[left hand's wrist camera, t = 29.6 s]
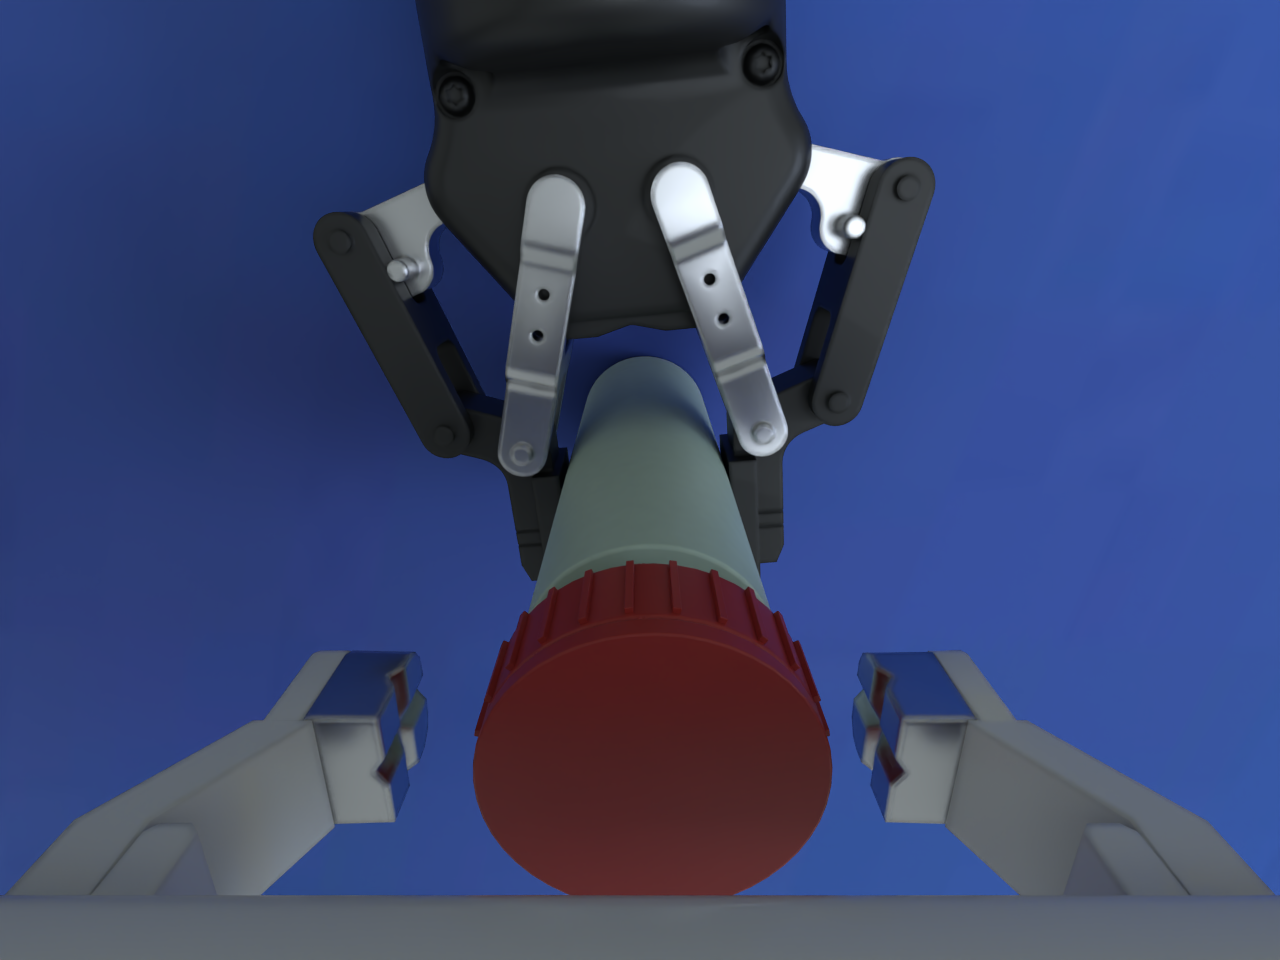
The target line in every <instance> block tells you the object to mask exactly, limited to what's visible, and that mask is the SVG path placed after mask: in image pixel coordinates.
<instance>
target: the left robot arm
mask: <svg viewBox="0 0 1280 960" xmlns="http://www.w3.org/2000/svg"><path fill="white" fill-rule="evenodd" d="M422 676H423V672H422V667H421V661H420V657H419V656H418V655H417V653H416V652H393V651H318V652H316V653H313V654H312V655H311V657H310V658H309V659H308V661H307V662H306V663H305V665H304V666H303V667H302V669H301V670H300V671H299V673H298V674H297V675H296V677H295V678H294V680H293V681H292V682H291V684H290V685H289V686H288V688H287V689H286V690H285V692H284V693H283V694H282V696H281V697H280V699H279V700H278V701H277V703H276V704H275V705H274V707H273V708H272V709H271V711H270V712H269V713H268V715H267V716H266V717H265V719H264V720H253V721H251V722H249V723H248V724H246V725H244V726H242V727H240V728H239V729H237V730H235V731H233V732H231V733H230V734H228V735H226V736H224V737H223V738H221V739H219V740H217V741H215V742H214V743H212V744H210V745H208V746H206V747H205V748H203V749H201V750H199V751H197V752H196V753H194V754H192V755H190V756H188V757H187V758H185V759H183V760H181V761H179V762H178V763H176V764H174V765H172V766H170V767H169V768H167V769H165V770H163V771H161V772H160V773H158V774H156V775H154V776H152V777H151V778H149V779H147V780H145V781H143V782H142V783H140V784H138V785H136V786H135V787H133V788H131V789H129V790H127V791H126V792H124V793H122V794H120V795H118V796H117V797H115V798H113V799H111V800H109V801H108V802H106V803H104V804H102V805H100V806H99V807H97V808H95V809H93V810H91V811H90V812H88V813H86V814H84V815H82V816H81V817H79V818H77V819H75V820H74V821H73V822H72V823H71V824H70V825H69V826H68V827H67V828H66V829H65V830H64V832H63V833H62V834H61V835H60V836H59V837H58V838H57V839H56V840H55V841H54V842H53V843H52V845H51V846H50V847H49V848H48V849H47V850H46V851H45V852H44V853H43V854H42V855H41V856H40V857H39V859H38V860H37V861H36V862H35V863H34V864H33V865H32V866H31V867H30V868H29V869H28V870H27V872H26V873H25V874H24V875H23V876H22V877H21V878H20V879H19V880H18V881H17V882H16V883H15V885H14V886H13V887H12V888H11V889H10V890H9V891H8V892H7V893H6V894H5V895H0V960H1280V895H1275V894H1274V893H1273V892H1272V891H1271V890H1270V889H1269V888H1268V887H1267V885H1266V884H1265V883H1264V882H1263V881H1262V880H1261V879H1260V878H1259V877H1258V876H1257V875H1256V873H1255V872H1254V871H1253V870H1252V869H1251V868H1250V867H1249V866H1248V865H1247V864H1246V863H1245V862H1244V860H1243V859H1242V858H1241V857H1240V856H1239V855H1238V854H1237V853H1236V852H1235V851H1234V850H1233V848H1232V847H1231V846H1230V845H1229V844H1228V843H1227V842H1226V841H1225V840H1224V839H1223V838H1222V836H1221V835H1220V834H1219V833H1218V832H1217V831H1216V830H1215V829H1214V828H1213V827H1212V826H1211V825H1210V823H1209V822H1208V821H1206V820H1204V819H1203V818H1201V817H1199V816H1197V815H1195V814H1194V813H1192V812H1190V811H1188V810H1186V809H1185V808H1183V807H1181V806H1179V805H1177V804H1176V803H1174V802H1172V801H1170V800H1168V799H1167V798H1165V797H1163V796H1161V795H1160V794H1158V793H1156V792H1154V791H1152V790H1151V789H1149V788H1147V787H1145V786H1143V785H1142V784H1140V783H1138V782H1136V781H1134V780H1133V779H1131V778H1129V777H1127V776H1126V775H1124V774H1122V773H1120V772H1118V771H1117V770H1115V769H1113V768H1111V767H1109V766H1108V765H1106V764H1104V763H1102V762H1100V761H1099V760H1097V759H1095V758H1093V757H1091V756H1090V755H1088V754H1086V753H1084V752H1083V751H1081V750H1079V749H1077V748H1075V747H1074V746H1072V745H1070V744H1068V743H1066V742H1065V741H1063V740H1061V739H1059V738H1057V737H1056V736H1054V735H1052V734H1050V733H1049V732H1047V731H1045V730H1043V729H1041V728H1040V727H1038V726H1036V725H1034V724H1032V723H1031V722H1029V721H1027V720H1016V719H1015V717H1014V716H1013V715H1012V713H1011V712H1010V711H1009V709H1008V708H1007V707H1006V705H1005V704H1004V703H1003V701H1002V700H1001V699H1000V697H999V696H998V695H997V693H996V692H995V691H994V689H993V688H992V687H991V685H990V684H989V682H988V681H987V680H986V678H985V677H984V676H983V674H982V673H981V672H980V670H979V669H978V668H977V666H976V665H975V664H974V662H973V661H972V660H971V658H970V657H969V656H968V654H967V653H965V652H963V651H961V650H948V651H928V652H883V653H862V656H861V658H860V660H859V666H858V672H857V676H858V678H859V680H860V683H861V685H862V687H863V690H862V691H861V692H860V693H859V694H858V695H857V696H856V697H855V698H854V701H853V710H852V727H853V737H854V742H855V746H856V750H857V752H858V755H859V758H860V760H861V762H862V763H863V764H865V765H866V766H867V767H868V768H870V769H871V770H872V778H871V784H870V786H871V788H872V790H873V793H874V795H875V798H876V800H877V803H878V805H879V808H880V810H881V813H882V815H883V817H884V820H885V822H903V823H938V824H946V825H945V827H946V828H947V829H948V830H949V831H951V832H952V833H953V834H954V835H955V836H956V837H957V838H958V839H959V840H960V841H961V842H963V843H964V844H965V845H966V846H967V847H968V848H969V849H970V850H971V851H972V852H973V853H975V854H976V855H977V856H978V857H979V858H980V859H981V860H982V861H983V862H984V863H985V864H986V865H988V866H989V867H990V868H991V869H992V870H993V871H994V872H995V873H996V874H997V875H998V876H1000V877H1001V878H1002V879H1003V880H1004V881H1005V882H1006V883H1007V884H1008V885H1009V886H1010V887H1012V888H1013V889H1014V890H1015V891H1016V892H1017V893H1018V894H1019V895H863V896H771V895H318V896H286V895H261V894H262V893H263V892H264V891H265V890H267V889H268V888H269V887H270V886H271V885H272V884H273V883H274V882H275V881H276V880H277V879H279V878H280V877H281V876H282V875H283V874H284V873H285V872H286V871H287V870H288V869H289V868H291V867H292V866H293V865H294V864H295V863H296V862H297V861H298V860H299V859H300V858H301V857H303V856H304V855H305V854H306V853H307V852H308V851H309V850H310V849H311V848H312V847H313V846H315V845H316V844H317V843H318V842H319V841H320V840H321V839H322V838H323V837H324V836H325V835H327V834H328V833H329V832H330V831H331V830H332V829H333V828H334V827H335V825H334V824H342V823H376V822H395V820H396V818H397V815H398V813H399V810H400V808H401V805H402V803H403V800H404V798H405V796H406V793H407V791H408V788H409V786H410V784H409V777H408V770H409V769H410V768H412V767H413V766H414V765H416V764H417V763H418V762H419V760H420V758H421V755H422V752H423V750H424V747H425V741H426V736H427V730H428V708H427V700H426V698H425V697H424V696H423V695H422V694H421V693H420V692H419V691H418V690H417V687H418V685H419V683H420V681H421V678H422Z"/></svg>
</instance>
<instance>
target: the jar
mask: <svg viewBox="0 0 1280 960" xmlns="http://www.w3.org/2000/svg"><path fill="white" fill-rule="evenodd" d="M631 560H633V561H634V564H642V563H645V564H648V563H657V564H669V560H673V561H677V565H679V566H684V567H690V568H695V569H698V570H702V571H705V572H708V573H709V572H710V570H711V569H713V570H716V571H718V574H719V577H721V578H723V579H725V580H728V581H730V582H732V583H734V584H736V585H738V586H739V587H741V588H742V589H744V590H745V589H746V588H747V587H748V586H749V587H750V588H752V589H753V590H754V592H755V595H756V598H757V599H758V600H759V601H761V602H762V603H763V604H764V605H765V606H767V607H768V608H769V609H770V607H769V604H768V601H767V598H766V595H765V592H764V588H763V585H762V582H761V579H760V576H759V573H758V570H757V567H756V563H755V560H754V557H753V554H752V551H751V548H750V545H749V542H748V539H747V535H746V532H745V529H744V526H743V523H742V520H741V517H740V514H739V510H738V507H737V504H736V501H735V498H734V495H733V492H732V489H731V486H730V482H729V479H728V476H727V473H726V470H725V467H724V464H723V461H722V457H721V454H720V451H719V448H718V445H717V442H716V439H715V436H714V433H713V429H712V426H711V423H710V420H709V417H708V414H707V411H706V408H705V405H704V401H703V398H702V396H701V393H700V390H699V389H698V387H697V385H696V383H695V382H694V381H693V379H692V378H691V377H690V376H689V375H688V374H687V373H686V372H685V371H684V370H683V369H682V368H680V367H679V366H677V365H675V364H674V363H672V362H669V361H667V360H664V359H661V358H657V357H650V356H641V357H633V358H629V359H625V360H623V361H620V362H618V363H616V364H614V365H613V366H611V367H610V368H608V369H607V370H606V371H604V372H603V373H602V374H601V375H600V376H599V378H598V379H597V380H596V381H595V383H594V384H593V386H592V388H591V390H590V392H589V395H588V397H587V401H586V404H585V408H584V412H583V415H582V419H581V423H580V426H579V430H578V434H577V437H576V441H575V445H574V448H573V452H572V455H571V459H570V463H569V466H568V470H567V474H566V477H565V481H564V485H563V488H562V492H561V496H560V499H559V503H558V506H557V510H556V514H555V517H554V521H553V525H552V528H551V532H550V536H549V539H548V543H547V547H546V550H545V554H544V557H543V561H542V565H541V568H540V572H539V576H538V579H537V583H536V587H535V590H534V594H533V598H532V601H531V605H530V608H529V612H528V614H529V613H530V612H531V611H532V610H533V609H534V608H535V607H536V606H537V605H538V604H539V603H541V602H542V601H543V600H544V599H546V598H547V595H548V591H549V590H550V589H551V588H553V587H555V588H556V589H557V590H559V589H560V588H562V587H564V586H566V585H567V584H569V583H571V582H572V581H575V580H577V579H579V578H582V577H584V574H585V571H587V570H590V569H592V571H593V573H595V572H598V571H602V570H605V569H609V568H612V567H618V566H625V565H626V561H631Z"/></svg>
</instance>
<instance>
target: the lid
mask: <svg viewBox="0 0 1280 960" xmlns="http://www.w3.org/2000/svg"><path fill="white" fill-rule="evenodd" d="M819 701H821V699H820V696H819V694H818V691H817V688H816V685H815V683H814V680H813V677H812V674H811V672H810V669H809V666H808V663H807V661H806V658H805V655H804V653H803V650H802V647H801V644H800V642H799V641H795V642H793V641H792V639H791V637H790V635H789V634H788V631H787V628H786V625H785V622H784V619H783V617H782V615H781V613H780V612H779V611H777V612H775V613H774V614H773V613H772V612H771V610H770V609H769V608H768V607H767V606H765V605H764V604H763V603H762V602H761V601H759V600H758V599H757V598H756V595H755V592H754V590H753V589H752V588H750V587H749V586H748V587H747V588H746V589H745V590H744V589H742V588H741V587H739V586H738V585H736V584H734V583H732V582H730V581H728V580H725V579H723V578H721V577H719V574H718V571H716V570H713V569H711V570H710V572H709V573H708V572H705V571H702V570H698V569H695V568H690V567H684V566H679V565H677V561H673V560H669V564H657V563H648V564H645V563H642V564H634V561H633V560H631V561H626V565H625V566H618V567H612V568H609V569H605V570H602V571H598V572H595V573H593V571H592V569H590V570H587V571H585V574H584V577H582V578H579V579H577V580H575V581H572V582H571V583H569V584H567V585H566V586H564V587H562V588H560V589H559V590H557V589H556V588H555V587H553V588H551V589H550V590H549V591H548V595H547V598H546V599H544V600H543V601H542V602H541V603H539V604H538V605H537V606H536V607H535V608H534V609H533V610H532V611H531V612H530V613H529V614H528V613H527V612H525V611H524V612H523V613H522V614H521V615H520V618H519V622H518V625H517V629H516V631H515V632H514V634H513V636H512V638H511V639H510V641H509V642H507V641H503V643H502V645H501V648H500V651H499V654H498V657H497V660H496V664H495V667H494V670H493V673H492V676H491V679H490V683H489V686H488V689H487V692H486V695H485V698H484V703H483V706H482V710H481V713H480V716H479V719H478V722H477V725H476V729H475V734H474V735H475V736H478V740H477V743H476V748H475V754H474V760H473V783H474V788H475V794H476V799H477V802H478V805H479V808H480V811H481V814H482V817H483V819H484V821H485V822H486V824H487V826H488V828H489V830H490V832H491V834H492V835H493V836H494V838H495V839H496V840H497V842H498V843H499V844H500V846H501V847H502V848H503V850H504V851H505V852H506V853H507V854H508V855H509V856H510V857H511V858H512V859H513V860H514V861H515V862H516V863H518V864H519V865H520V866H521V867H523V868H524V869H525V870H526V871H528V872H529V873H530V874H531V875H533V876H535V877H536V878H538V879H539V880H541V881H543V882H544V883H546V884H548V885H549V886H552V887H554V888H556V889H558V890H560V891H562V892H564V893H566V894H569V895H734V894H737V893H739V892H741V891H743V890H746V889H748V888H750V887H752V886H754V885H755V884H757V883H759V882H761V881H762V880H764V879H766V878H768V877H769V876H770V875H772V874H773V873H774V872H776V871H777V870H779V869H780V868H781V867H783V866H784V865H785V864H786V863H787V862H788V861H789V860H790V859H791V858H792V857H793V856H795V855H796V854H797V853H798V852H799V850H800V849H801V848H802V847H803V846H804V844H805V843H806V842H807V841H808V839H809V838H810V837H811V835H812V833H813V832H814V830H815V828H816V827H817V825H818V823H819V822H820V819H821V817H822V815H823V812H824V810H825V807H826V805H827V801H828V797H829V793H830V788H831V780H832V759H831V750H830V746H829V742H828V739H827V736H830V733H829V728H828V725H827V723H826V720H825V717H824V714H823V711H822V709H821V706H820V703H819Z"/></svg>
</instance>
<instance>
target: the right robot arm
mask: <svg viewBox="0 0 1280 960" xmlns="http://www.w3.org/2000/svg"><path fill="white" fill-rule="evenodd" d="M415 2H416V8H417V13H418V19H419V24H420V30H421V36H422V41H423V47H424V52H425V58H426V64H427V69H428V75H429V80H430V86H431V91H432V95H433V101H434V110H435V126H434V135H433V140H432V144H431V148H430V151H429V154H428V157H427V160H426V164H425V170H424V184H421V185H419V186H417V187H415V188H413V189H411V190H408V191H406V192H404V193H402V194H400V195H398V196H396V197H393V198H391V199H389V200H387V201H385V202H383V203H381V204H378V205H376V206H374V207H372V208H370V209H368V210H366V211H361V212H332V213H328V214H326V215H324V216H323V217H322V218H321V219H320V220H319V221H318V222H317V224H316V226H315V228H314V233H313V240H314V245H315V248H316V251H317V253H318V255H319V256H320V258H321V260H322V262H323V264H324V265H325V267H326V269H327V271H328V273H329V274H330V276H331V278H332V280H333V282H334V284H335V285H336V287H337V289H338V291H339V293H340V294H341V296H342V298H343V300H344V302H345V303H346V305H347V307H348V309H349V311H350V313H351V314H352V316H353V318H354V320H355V322H356V323H357V325H358V327H359V329H360V331H361V332H362V334H363V336H364V338H365V340H366V342H367V343H368V345H369V347H370V349H371V351H372V352H373V354H374V356H375V358H376V360H377V361H378V363H379V365H380V367H381V369H382V371H383V372H384V374H385V376H386V378H387V380H388V381H389V383H390V385H391V387H392V389H393V391H394V392H395V394H396V396H397V398H398V400H399V401H400V403H401V405H402V407H403V409H404V410H405V412H406V414H407V416H408V418H409V420H410V421H411V423H412V425H413V427H414V429H415V430H416V432H417V434H418V436H419V438H420V439H421V441H422V443H423V445H424V446H425V448H426V449H427V450H428V451H429V452H431V453H432V454H434V455H436V456H438V457H442V458H453V457H456V456H458V455H460V454H463V455H467V456H471V457H475V458H479V459H483V460H486V461H489V462H491V463H492V464H494V465H495V466H497V467H498V468H499V469H500V470H501V471H502V473H503V474H504V476H505V478H506V480H507V483H508V488H509V494H510V500H511V505H512V511H513V517H514V523H515V529H516V532H517V533H516V534H517V540H518V544H519V552H520V557H521V563H522V566H523V568H524V569H525V571H526V572H527V574H528V575H529V577H530V579H531V580H532V581H536V580H537V579H538V576H539V572H540V568H541V565H542V561H543V557H544V554H545V550H546V547H547V543H548V539H549V536H550V532H551V528H552V525H553V521H554V517H555V514H556V510H557V506H558V503H559V499H560V496H561V492H562V488H563V485H564V481H565V477H566V474H567V470H568V466H569V458H568V450H567V447H565V448H558V441H557V434H556V433H557V429H558V424H559V418H560V412H561V406H562V400H563V394H564V388H565V382H566V376H567V371H568V366H569V362H570V358H571V353H572V347H573V341H574V339H579V338H590V337H598V336H601V335H604V334H607V333H609V332H612V331H615V330H617V329H620V328H623V327H625V326H628V325H637V326H643V327H649V328H654V329H660V330H677V329H688V328H696V330H697V333H698V336H699V338H700V341H701V344H702V346H703V349H704V352H705V354H706V357H707V359H708V362H709V365H710V367H711V370H712V373H713V376H714V378H715V381H716V384H717V386H718V389H719V392H720V394H721V397H722V400H723V403H724V405H725V408H726V411H727V434H723V435H720V454H721V457H722V461H723V464H724V467H725V470H726V473H727V476H728V479H729V482H730V486H731V489H732V492H733V495H734V498H735V501H736V504H737V507H738V510H739V514H740V517H741V520H742V523H743V526H744V529H745V532H746V535H747V539H748V542H749V545H750V548H751V551H752V554H753V557H754V560H755V563H756V567H757V570H758V573H759V576H760V563H768V562H777V560H778V557H779V555H780V552H781V550H782V548H783V545H784V530H783V472H782V460H783V454H784V451H785V449H786V447H787V445H788V444H789V443H790V442H791V440H793V439H794V438H795V437H796V436H798V435H799V434H801V433H803V432H805V431H808V430H810V429H812V428H814V427H817V426H819V425H821V424H827V425H831V426H839V425H843V424H846V423H848V422H850V421H851V420H853V419H854V418H855V417H856V416H857V415H858V413H859V412H860V410H861V407H862V405H863V402H864V399H865V396H866V393H867V390H868V387H869V384H870V381H871V378H872V375H873V372H874V369H875V366H876V363H877V360H878V357H879V354H880V351H881V348H882V345H883V342H884V339H885V336H886V333H887V330H888V328H889V325H890V322H891V319H892V316H893V313H894V310H895V307H896V304H897V301H898V298H899V295H900V292H901V289H902V286H903V283H904V280H905V277H906V274H907V271H908V268H909V265H910V262H911V259H912V256H913V253H914V250H915V247H916V245H917V242H918V239H919V236H920V233H921V230H922V227H923V224H924V221H925V218H926V215H927V212H928V209H929V206H930V203H931V200H932V197H933V194H934V190H935V177H934V173H933V171H932V169H931V167H930V166H929V165H928V164H927V163H926V162H925V161H923V160H922V159H919V158H916V157H905V158H898V157H897V158H891V159H885V160H877V159H872V158H868V157H864V156H860V155H855V154H851V153H847V152H843V151H838V150H834V149H830V148H826V147H821V146H817V145H813V144H811V137H810V133H809V130H808V127H807V125H806V123H805V121H804V119H803V117H802V115H801V114H800V112H799V110H798V108H797V106H796V104H795V101H794V99H793V96H792V93H791V90H790V86H789V82H788V76H787V64H786V0H415ZM798 192H800V193H801V194H803V195H804V196H805V197H806V199H807V200H808V202H809V204H810V206H811V211H812V220H811V235H812V238H813V240H814V241H815V243H816V244H817V245H818V246H819V247H820V248H822V249H823V250H826V251H828V254H827V258H826V261H825V264H824V268H823V271H822V275H821V278H820V281H819V285H818V288H817V292H816V295H815V298H814V302H813V305H812V309H811V312H810V315H809V319H808V322H807V326H806V329H805V333H804V336H803V339H802V343H801V346H800V350H799V353H798V356H797V360H796V363H795V367H794V368H793V369H791V370H788V371H786V372H784V373H782V374H779V375H777V376H775V377H773V378H771V376H770V373H769V370H768V367H767V364H766V360H765V354H764V350H763V346H762V343H761V340H760V337H759V334H758V331H757V328H756V325H755V322H754V319H753V317H752V314H751V311H750V308H749V305H748V302H747V299H746V296H745V293H744V290H743V287H742V284H741V282H742V280H743V279H744V277H745V276H746V274H747V272H748V271H749V269H750V268H751V266H752V264H753V263H754V261H755V260H756V258H757V256H758V255H759V253H760V252H761V250H762V248H763V247H764V245H765V244H766V242H767V241H768V239H769V237H770V236H771V234H772V233H773V231H774V229H775V228H776V226H777V225H778V223H779V221H780V220H781V218H782V217H783V215H784V213H785V212H786V210H787V209H788V207H789V205H790V204H791V202H792V201H793V199H794V197H795V196H796V194H797V193H798ZM446 227H447V228H448V229H449V230H450V231H451V232H452V233H453V234H454V236H455V237H456V238H457V239H458V240H459V241H460V242H461V243H462V244H463V245H464V246H465V247H466V249H467V250H468V251H469V252H470V253H471V254H472V255H473V256H474V257H475V258H476V259H477V261H478V262H479V263H480V264H481V265H482V266H483V267H484V268H485V269H486V270H487V271H488V273H489V274H490V275H491V276H492V277H493V278H494V279H495V280H496V281H497V282H498V283H499V285H500V286H501V287H502V288H503V289H504V290H505V291H506V292H507V293H508V294H509V295H510V297H511V298H512V299H513V300H514V301H515V303H514V310H513V318H512V325H511V332H510V340H509V347H508V354H507V362H506V371H505V379H506V393H505V400H504V401H503V400H500V399H496V398H492V397H488V396H485V394H484V392H483V390H482V388H481V386H480V384H479V382H478V380H477V378H476V376H475V374H474V372H473V370H472V368H471V366H470V364H469V362H468V360H467V358H466V356H465V354H464V352H463V350H462V348H461V346H460V344H459V342H458V340H457V338H456V336H455V334H454V332H453V330H452V328H451V326H450V324H449V322H448V320H447V318H446V316H445V314H444V312H443V310H442V308H441V306H440V304H439V302H438V300H437V298H436V296H435V294H434V292H433V290H432V288H433V287H435V286H436V285H437V284H438V283H439V281H440V280H441V278H442V275H443V261H442V258H441V255H440V251H439V240H440V237H441V234H442V232H443V231H444V229H445V228H446Z"/></svg>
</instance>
